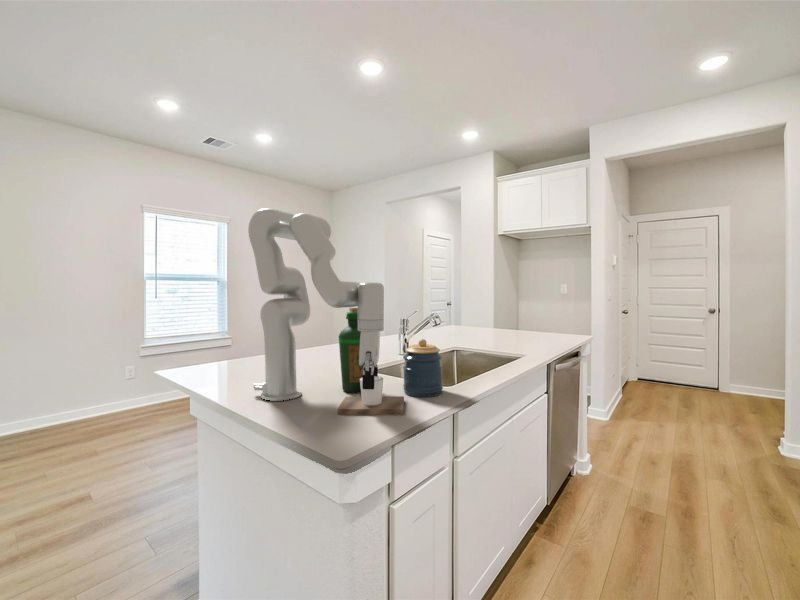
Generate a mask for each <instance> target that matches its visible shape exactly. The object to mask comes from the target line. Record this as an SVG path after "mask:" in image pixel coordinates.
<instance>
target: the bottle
mask: <svg viewBox="0 0 800 600" xmlns="http://www.w3.org/2000/svg"><path fill="white" fill-rule="evenodd" d="M348 310H349V311H347V312H346V317H345V319H346V320H347V326H346V327H345V328H344V329H342V330H341V331H340V333H339V334H338V343H339V344H338V346H339V360H340V372H341V386H342V388H341V389H342V391H344V392H346V393H349V392H350V394H355V393H361V387H360V378H362V377H363V368H364V364H363V365H362V366H361V367H360V366H359V351H360V334H361V331H358V307H348Z"/></svg>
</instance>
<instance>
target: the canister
mask: <svg viewBox="0 0 800 600" xmlns="http://www.w3.org/2000/svg"><path fill="white" fill-rule="evenodd" d="M427 343H428V342H427V340H426V339H424V338H420V339H419V341H418V344H411V345H410V346H409V347H407V348H406V349H405V352H406V354H405V355H403V357H402V359H403V360H404V365H403V391H404V394H406V395H407V396H410V397H416V398H431V397H436V396H440V395H441V394H442V393H443V389H444V385H443V369H444V368H443V364H442V359H443V356H442V354H440V353H439V352H440V351H441V350H440V348H438V347H436V345H434V344H427Z"/></svg>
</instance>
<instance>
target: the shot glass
mask: <svg viewBox="0 0 800 600" xmlns="http://www.w3.org/2000/svg"><path fill="white" fill-rule="evenodd" d="M360 387H361V392H360V393H361V396H360V397H362V404H364V405H378V404H380V403H382V396H383V388H384V378H383V377H382V376H379V375H378V376H374V389H363V377H362V378H360Z"/></svg>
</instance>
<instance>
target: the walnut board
mask: <svg viewBox="0 0 800 600" xmlns="http://www.w3.org/2000/svg"><path fill="white" fill-rule="evenodd" d="M404 409H405V396H403V395H402V396H401V395H400V396H399V395H398V396H397V395H396V396H395V395H394V396H393V395H392V396H383V395H382V403H380V404H378V405H364V404H362V396H345V397H343V400H342V401H341V402H340V404H339V406H338V407H337V410H336V411H337V412H336V413H337V416H338V415H339V416H341V415H343V416H344V415H346V416H348V415H349V416H353V415H354V416H355V415H356V416H357V415H359V416H360V415H363V416H364V415H367V416H370V415H374V416H375V415H377V416H378V415H379V416H381V415H382V416H383V415H388V416H391V415H395V416H396V415H400V416H401V415H404Z"/></svg>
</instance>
